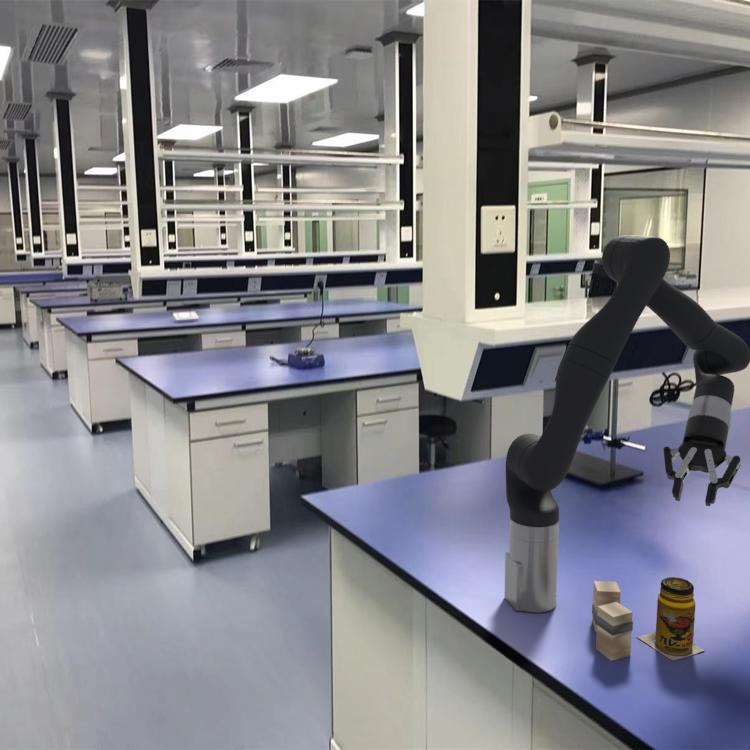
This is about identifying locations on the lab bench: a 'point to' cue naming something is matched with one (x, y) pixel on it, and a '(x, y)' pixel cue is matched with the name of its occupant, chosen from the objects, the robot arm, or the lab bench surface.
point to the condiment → (674, 620)
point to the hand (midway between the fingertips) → (692, 501)
